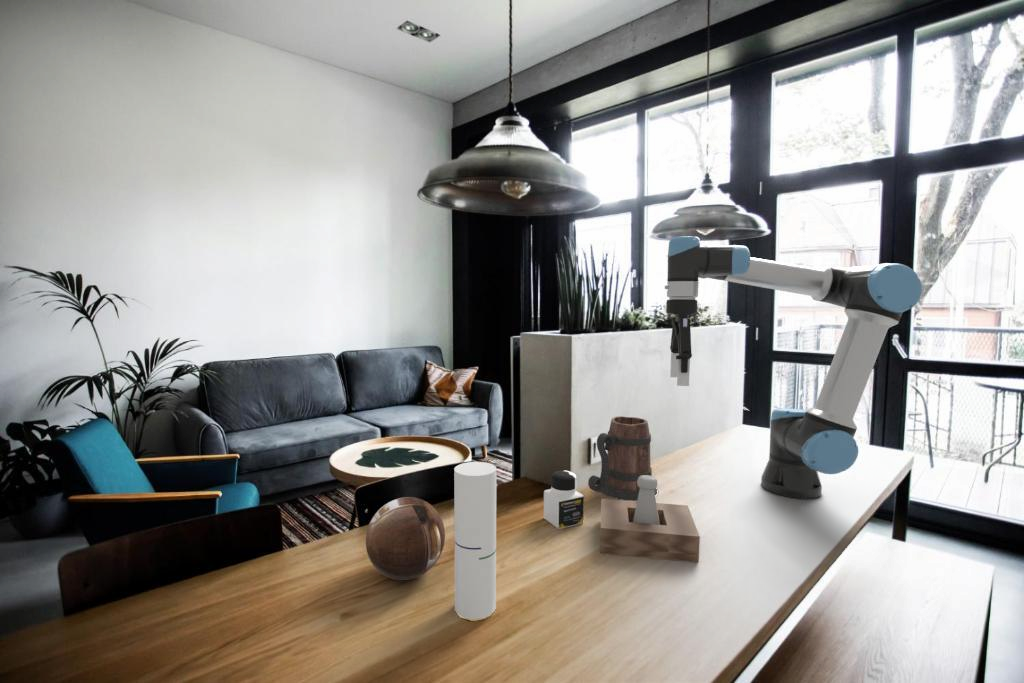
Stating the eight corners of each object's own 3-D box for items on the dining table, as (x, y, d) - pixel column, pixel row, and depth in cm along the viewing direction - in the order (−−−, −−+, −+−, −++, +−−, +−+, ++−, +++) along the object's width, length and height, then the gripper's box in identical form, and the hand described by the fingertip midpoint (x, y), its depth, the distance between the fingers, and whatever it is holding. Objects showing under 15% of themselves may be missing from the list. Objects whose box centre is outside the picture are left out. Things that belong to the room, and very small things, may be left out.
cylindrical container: (455, 597, 92) (454, 462, 90) (494, 595, 92) (495, 461, 90) (454, 622, 85) (453, 476, 82) (497, 620, 85) (497, 475, 83)
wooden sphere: (354, 570, 101) (353, 496, 99) (423, 548, 110) (422, 480, 108) (385, 607, 89) (384, 524, 87) (459, 578, 98) (459, 503, 97)
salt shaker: (657, 528, 116) (659, 473, 115) (661, 540, 111) (663, 482, 110) (631, 526, 117) (633, 471, 116) (633, 538, 111) (635, 480, 110)
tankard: (623, 474, 156) (625, 410, 154) (671, 491, 143) (673, 421, 141) (568, 492, 142) (569, 421, 140) (615, 512, 129) (617, 435, 127)
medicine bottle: (558, 530, 119) (559, 480, 118) (543, 518, 125) (543, 470, 124) (583, 523, 122) (584, 475, 121) (567, 512, 128) (568, 466, 127)
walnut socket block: (686, 527, 120) (687, 505, 120) (698, 562, 104) (699, 536, 104) (600, 520, 124) (601, 498, 123) (599, 552, 108) (600, 527, 108)
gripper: (661, 298, 142) (659, 373, 144) (672, 298, 118) (669, 389, 120) (689, 298, 141) (686, 374, 143) (706, 298, 116) (703, 390, 118)
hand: (679, 381), depth 131 cm, fingers open, 13 cm apart
